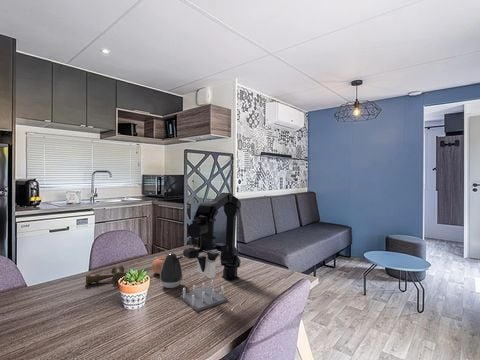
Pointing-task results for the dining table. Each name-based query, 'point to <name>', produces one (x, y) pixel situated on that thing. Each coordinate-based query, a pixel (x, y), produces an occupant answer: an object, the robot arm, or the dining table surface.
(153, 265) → the tomato
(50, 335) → the dining table surface
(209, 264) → the tile
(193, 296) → the rack
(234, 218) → the robot arm
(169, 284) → the pump dispenser
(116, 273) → the kendama
